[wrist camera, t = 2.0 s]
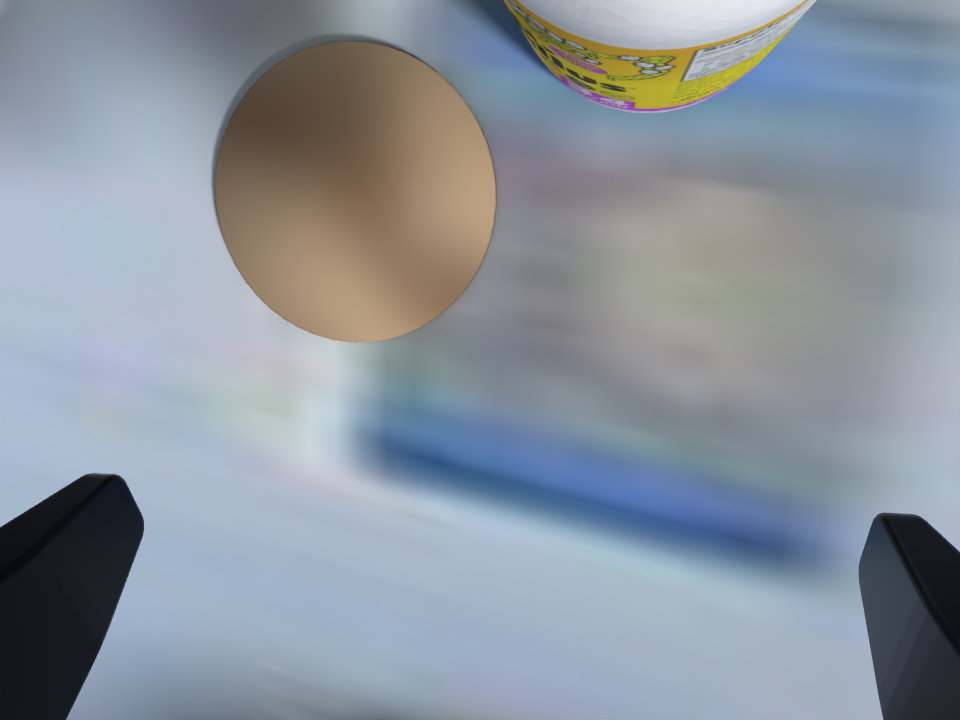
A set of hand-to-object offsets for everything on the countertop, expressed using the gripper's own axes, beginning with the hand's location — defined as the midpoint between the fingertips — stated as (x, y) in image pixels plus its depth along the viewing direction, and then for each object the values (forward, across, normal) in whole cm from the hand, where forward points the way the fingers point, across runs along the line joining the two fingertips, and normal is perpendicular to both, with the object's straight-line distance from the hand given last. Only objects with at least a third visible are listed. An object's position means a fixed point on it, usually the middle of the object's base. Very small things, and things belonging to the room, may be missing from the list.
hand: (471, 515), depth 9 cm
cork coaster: (+13, +5, +2) cm, 14 cm away
